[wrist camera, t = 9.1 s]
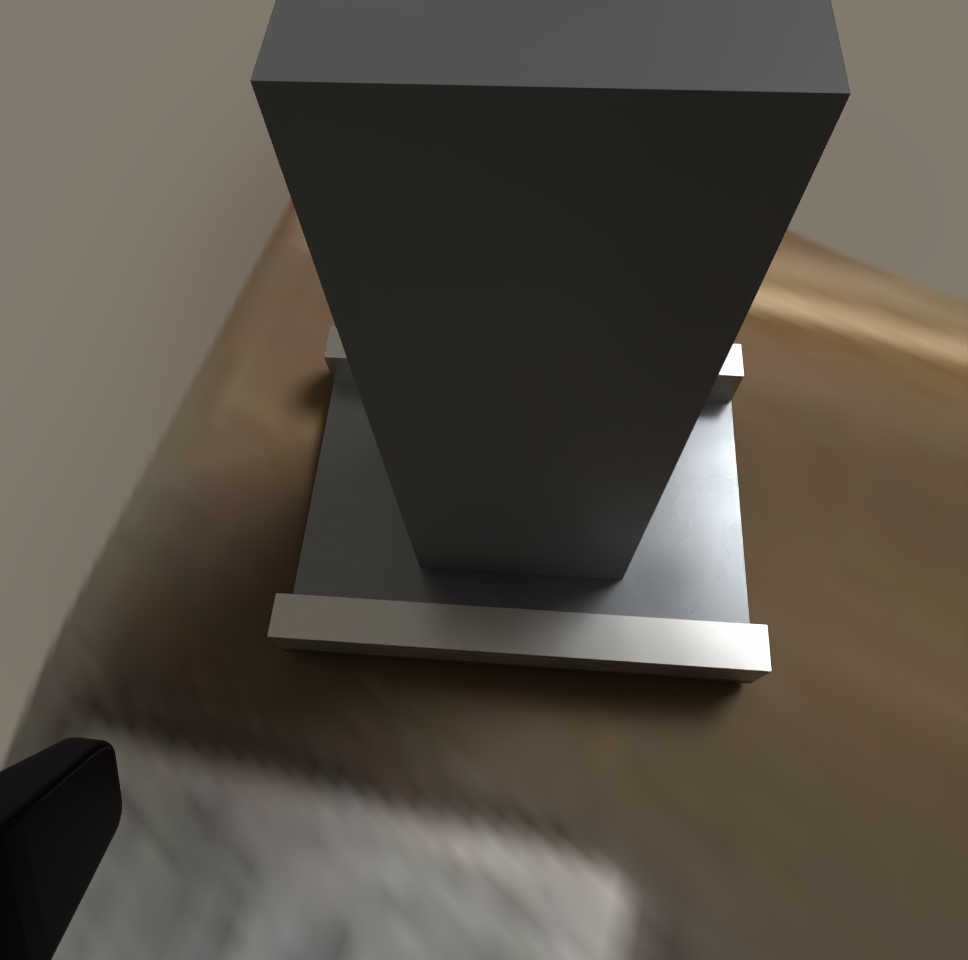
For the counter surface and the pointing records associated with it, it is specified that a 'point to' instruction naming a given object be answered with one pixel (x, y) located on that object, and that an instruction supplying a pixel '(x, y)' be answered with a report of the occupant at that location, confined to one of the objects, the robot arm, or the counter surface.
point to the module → (543, 239)
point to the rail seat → (522, 596)
